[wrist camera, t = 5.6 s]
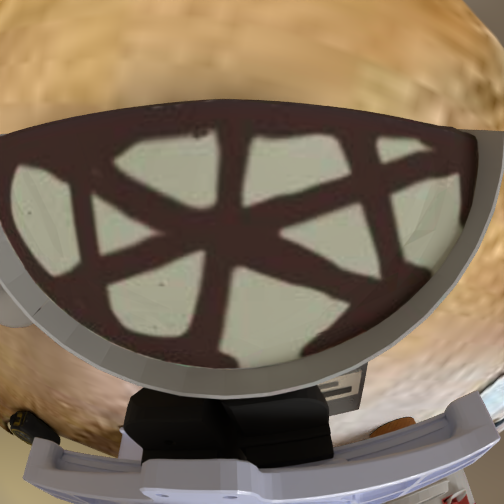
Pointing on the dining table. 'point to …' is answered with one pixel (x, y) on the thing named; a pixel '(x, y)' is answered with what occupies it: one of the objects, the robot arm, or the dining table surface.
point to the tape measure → (31, 428)
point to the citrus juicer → (455, 491)
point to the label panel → (344, 391)
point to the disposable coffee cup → (416, 499)
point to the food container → (239, 237)
